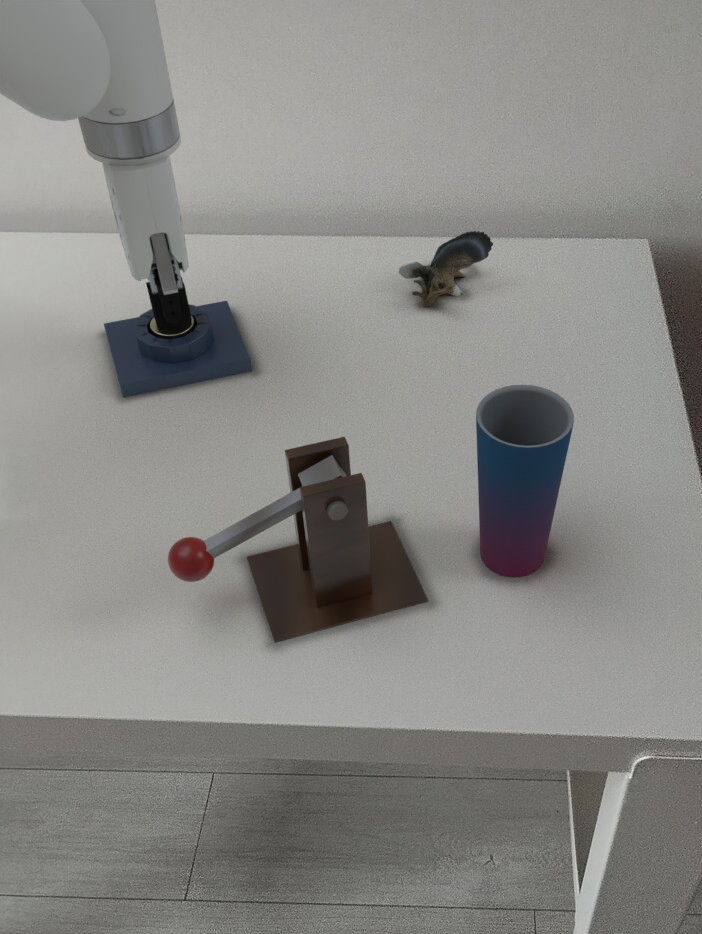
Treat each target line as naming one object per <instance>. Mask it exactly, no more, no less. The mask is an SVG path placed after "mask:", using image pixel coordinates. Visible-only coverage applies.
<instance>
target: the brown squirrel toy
mask: <svg viewBox="0 0 702 934" xmlns="http://www.w3.org/2000/svg"><path fill="white" fill-rule="evenodd" d="M493 246H494V243H493V242H492V238H491V237H490V236H488V233H485V231H479V230H478V231H476V230H474V231H472V230H470V231H466V232H463V233H461V234H460V235H458V236H455V237H453V238H451V239H449V240H448V241H446V242H444V243H442V244H440V246H438V248H437V249H436V252H435V253H434V255H433V258H432V260H431V262H430V264H427V265H423V264H422V263H420V262H418V261H413V262H409V263H406V264H404V265H401V266H400V267H399V268H398V274H399V275H401V277H403V278H404V279H408V280H410V279H414V280H413V283H416V284H418V285H419V286H420V288H421V292H420V291H417V290H416V291H411V292H412V293H411V294H412V295H413V296H415V297H416V296H417V297H420V298H421V299H422V307H423V308H431V307H432V306H433V305H434V303H435V300H436V298H437V297H438V298H439V296H441V295H446V294H449V295H451V296H453V297H461V296H463V294H464V293H463V291H462V290H461V289H460V287H459V286H458V285H457V284H456V282H455V278H459V277H460V278H466V277H468V276H467V275H466V274H464V273H463V272H461V270H464V269H467V268H470V267H471V266H472V265H473V264H475V263H476V264H477V263H480V262H482V261H484V260H485V259H487V258H488V257H489V253H490V252H491V251H492V249H493V248H492V247H493ZM416 278H421V279H416ZM422 279H423V280H422Z"/></svg>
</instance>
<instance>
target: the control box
mask: <svg viewBox="0 0 702 934" xmlns="http://www.w3.org/2000/svg"><path fill="white" fill-rule="evenodd" d="M189 309H190V314H191V316H192V317H193V320H194V325H195V329H194V331H193V332H191V333H190V334H188V335H186V336H185V337H182V338H176V339H171V340H169V339H161V338H156V337H155V336H153V335H152V332H151V328H150V322H151V320H152V319H153V318H154V314H153V310H152V308H150V309H148V310H147V311H145V312H143V313H142V314H140V315H139V316H137V317H132V318H127V319H126V318H125V319H120V320H116V321H110V322H104V323H103V327H104V331H105V334H106V338H107V342H108V347H109V349H110V355H111V357H112V362H113V366H114V369H115V373H116V377H117V380H118V385H119V388H120V392H121V395H122V398H127V397H132V396H138V395H142V394H147V393H153V392H157V391H161V390H166V389H172V388H177V387H181V386H186V385H187V386H188V385H192V384H196V383H200V382H206V381H211V380H216V379H221V378H224V377H225V378H227V377H231V376H235V375H240V374H244V373H251V372H253V367H252V360H251V356H250V355H249V352H248V349H247V347H246V344H245V342H244V339H243V337H242V334H241V332H240V329H239V327H238V325H237V321H236V319H235V317H234V315H233V312H232V309H231V307H230V304H229V302H228V300H223V301H217V302H212V303H206V304H202V305H194V304H189Z"/></svg>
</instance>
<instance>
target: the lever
mask: <svg viewBox="0 0 702 934" xmlns="http://www.w3.org/2000/svg"><path fill="white" fill-rule="evenodd" d="M298 476H299V479H300V481H301V484H302V487H303V486H307V485H311V484H315V483H320V482H324V481H328V480H333V479H337V478H341V477H345V476H346V474H345V473H344V471H343V470H342V468H341V467H340V465H339V464H338V462H337V461H336V459H335V458H334V457H333V455H331V456H329V457H328V458H326V459H324V460H322V461H320V462H319V463H317V464H315V465H313V466H311V467H310V468H308V469H306V470H304V471H302V472H301V473H299V474H298ZM301 510H302V504H301V496H300V489H299V488H298V489H296V490H295V491H293V492H291V493H290V492H289V493H287V494H286V495H284V496H282V497H280V498H278V499H276V500H275V501H273V502H271V503H270V504H268V505H266V506H264V507H262V508H261V509H259V510H256V511H255V512H253V513H251V514H249V515H247V516H246V517H244V518H242V519H241V520H238V521H237V522H235V523H234V524H232V525H230V526H228V527H226V528H224V529H223V530H220V531H219V532H217V533H215V534H213V535H212V536H210V537H208V538H206V539H205V540H204V539H202V538H200V537H195V536H186V537H183V538H182V537H181V538H180V539H178V540H177V541H176V542H174V543H173V544H172V546H170V549H169V551H168V554H167V564H168V568H169V570H170V572H171V573H172V574H173V575H174V576H175V578H177V579H179V580H181V581H183V582H187V583H196V582H200V581H202V580H204V579H205V578H206V577H208V576H209V575H210V573H211V572H212V570H213V568H214V566H215V559H217V558H218V557H219V556H221V555H223V554H225V553H226V552H228V551H230V550H232V549H234V548H236V547H237V546H239V545H241V544H243V543H245V542H247V541H249V540H250V539H253V538H254V537H256V536H257V535H259V534H261V533H262V532H265V531H267V530H268V529H271V528H272V527H274V526H276V525H277V524H280V523H281V522H283V521H285V520H287V519H288V518H290V517H292V516H293V515H294V514H295V513H297V512H299V511H301Z"/></svg>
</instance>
